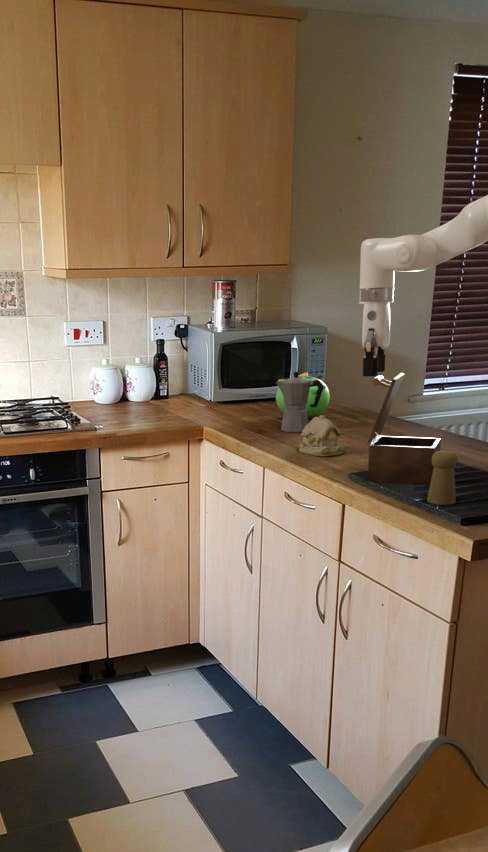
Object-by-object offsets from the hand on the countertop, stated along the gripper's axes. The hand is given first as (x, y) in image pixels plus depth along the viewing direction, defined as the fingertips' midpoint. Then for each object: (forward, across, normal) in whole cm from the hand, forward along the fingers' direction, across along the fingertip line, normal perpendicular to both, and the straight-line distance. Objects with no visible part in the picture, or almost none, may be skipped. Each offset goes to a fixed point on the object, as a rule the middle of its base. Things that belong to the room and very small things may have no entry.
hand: (373, 373), depth 203 cm
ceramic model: (+24, +27, +18) cm, 41 cm away
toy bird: (+24, +83, +38) cm, 95 cm away
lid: (+8, 0, -3) cm, 9 cm away
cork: (+25, -21, -19) cm, 37 cm away
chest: (+24, 0, -8) cm, 26 cm away
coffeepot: (+24, +59, +33) cm, 72 cm away
